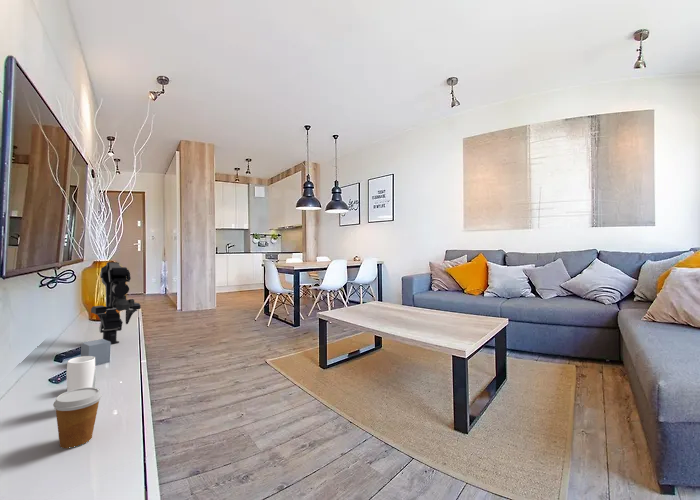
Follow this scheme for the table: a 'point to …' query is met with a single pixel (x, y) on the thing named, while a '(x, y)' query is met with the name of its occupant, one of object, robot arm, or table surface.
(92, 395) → the disposable coffee cup
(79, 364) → the white paper cup
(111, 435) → the table surface
